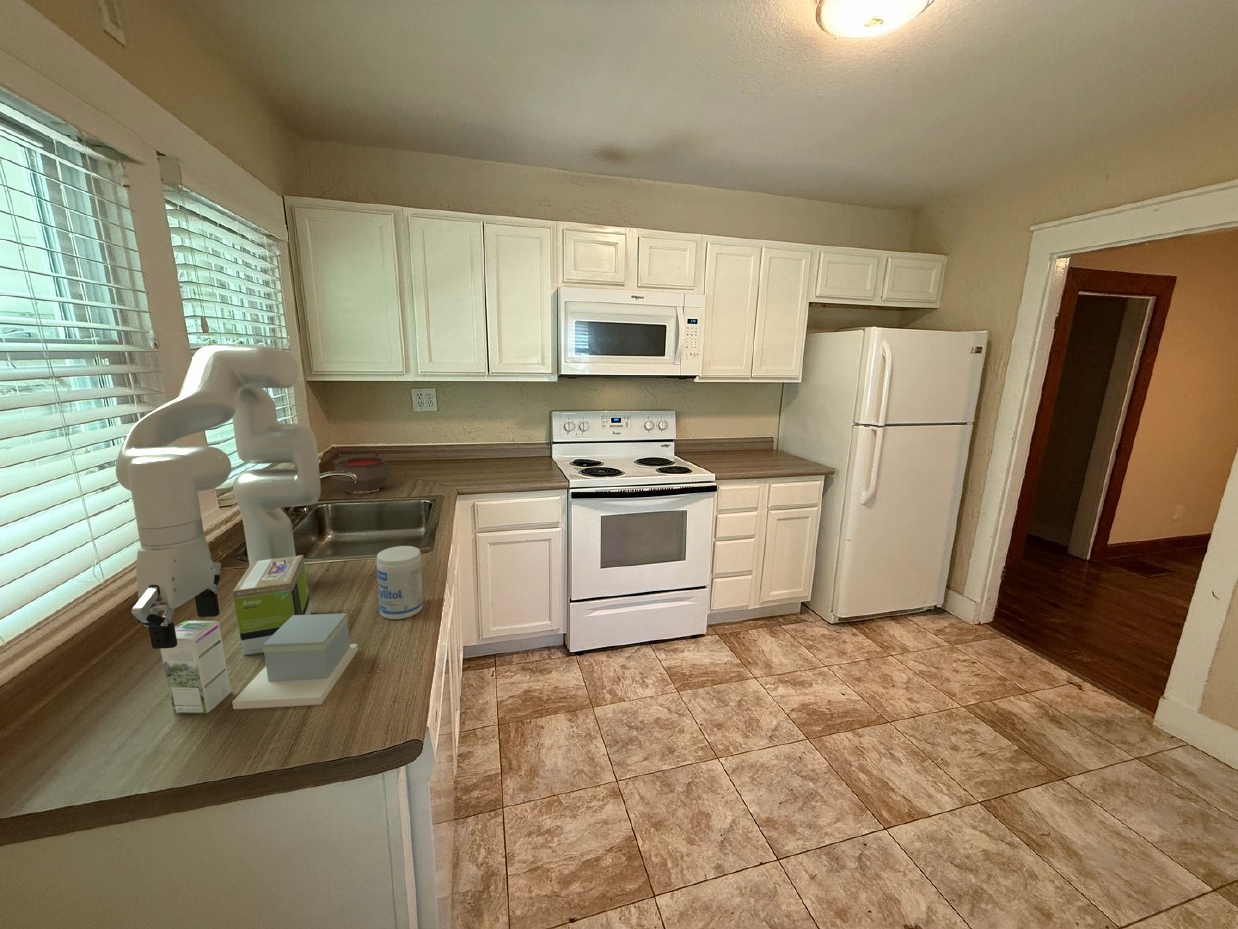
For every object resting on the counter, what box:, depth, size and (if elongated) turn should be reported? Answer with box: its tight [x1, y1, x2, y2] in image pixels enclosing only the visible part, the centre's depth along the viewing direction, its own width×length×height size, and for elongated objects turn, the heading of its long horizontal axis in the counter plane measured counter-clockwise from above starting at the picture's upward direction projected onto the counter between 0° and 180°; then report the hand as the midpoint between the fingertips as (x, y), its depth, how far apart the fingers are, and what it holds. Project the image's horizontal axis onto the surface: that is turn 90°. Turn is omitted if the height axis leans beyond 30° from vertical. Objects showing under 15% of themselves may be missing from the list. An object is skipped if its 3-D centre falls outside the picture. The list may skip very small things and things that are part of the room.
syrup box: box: [159, 620, 232, 715], centre depth 83 cm, size 6×6×14 cm
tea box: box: [232, 554, 312, 656], centre depth 104 cm, size 15×10×15 cm
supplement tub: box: [376, 545, 424, 620], centre depth 115 cm, size 10×10×15 cm
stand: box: [231, 613, 359, 710], centre depth 91 cm, size 16×14×9 cm
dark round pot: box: [330, 449, 393, 492], centre depth 212 cm, size 24×24×16 cm
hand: (188, 630), depth 81 cm, fingers open, 9 cm apart
